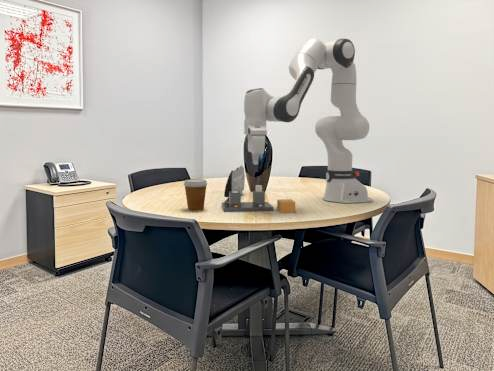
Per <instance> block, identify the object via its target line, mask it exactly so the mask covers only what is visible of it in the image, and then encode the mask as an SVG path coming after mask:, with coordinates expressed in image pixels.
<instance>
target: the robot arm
mask: <svg viewBox="0 0 494 371" xmlns="http://www.w3.org/2000/svg"><path fill="white" fill-rule="evenodd" d="M355 54H356V49H355V46H354V43H353V41H352V40H351V39H349V38H338V39H334V40H330V41H327V42H325V43H324V42H323V41H322V40H320V39H318V38H316V37H315V38H310V39H308V40H307V41H306V42H305V43H303V45H301V47H300V48H299V49H298V50H297V52H295V55H294V56H293V57H292V59H291V60H290V63H289V65H288V71H289V74H290V76H291V77H292V78H293V79H294V82H293V85H291V86H292V87H291V88H290V91H289V92H287V94H285V95H283V96H277V97H275V96H273V95H271V94H270V93H268V92H267V91H266V90H265V88H262V87H260V88H253V89H248V90H247V91H246V92H245V96H244V101H243V105H244V106H243V113H244V122H243V123H244V124H243V127H244V128H243V130H244V131H243V132H244V133H243V134H244V135H247V151H248V153H251V159H252V164H253V165H255V166H257V165H259V158H260V155H261V156H262V155H264V153H265V147H266V146H265V145H266V135H267V133H268V129H267V122H275V123H276V122H278V123H279V122H283V123H291V122H294V121H295V120H296V119H297V117H298V116H299V113H300V111H301V110H300V109H301V106H302V103H303V101H304V98H305V97H306V95H307V93H308V91H309V89H310V87H312V86H311V85H312V83H313V82H314V79H315V73H316V71H317V70H325V69H330V70H331V74H332V77H331V86H330V88H331V89H330V102H331V104H332V105H333V107H335V108H336V109H338V110H339V113H340V115H338V116H336V115H333V116H331V115H330V116H324V117H322V118H319V119H318V120H317V121H316V123H315V125H314V126H315V127H314V129H315V130H314V131H315V134H316V136H317V137H318V139H320V140H321V141H322V142H323V144H324V146H325V148H326V152H327V170H326V174H325V179H326V180H325V181H326V187H325V192H324V194H323V198H322V199H323V200H325V201H326V202H333V203H340V204H341V203H342V204H355V203H356V204H359V203H371V202H373V198H372V197H370V196H369V194H368V188H367V187H366V186H365V185H364V184H363V183H362V182H360V181H359V180H358V179H357V178H356V177H359V176H360V172H359V171H355V170H354V169H353V153H352V151H351V150H350V149H348V148H346V147H345V146H344V143H343V141H356V140H357V141H359V140H363V139H365V138H366V137H367V136H368V134H369V132H370V122H369V121H368V119H367V117H365V116H364V115H363V114H362V113H361V112H360V110H359V107H358V104H357V70H356V64H355V62H354V60H355Z"/></svg>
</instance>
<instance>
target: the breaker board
mask: <svg viewBox="0 0 494 371" xmlns="http://www.w3.org/2000/svg"><path fill="white" fill-rule="evenodd" d="M232 192H238V193H232ZM265 195H266V192H265V191H264V190H262V192H255V190H253V191H252V201H248V202H247V201H242V200H241V199H242V194H241V192H240V191H229V197H228V202H221V208H222V211H223V213H229V212H230V213H231V212H233V213H235V212H236V213H237V212H239V213H240V212H242V213H243V212H274V206H273V205H272V204H271V203H270V202H268V201H266V196H265Z"/></svg>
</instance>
